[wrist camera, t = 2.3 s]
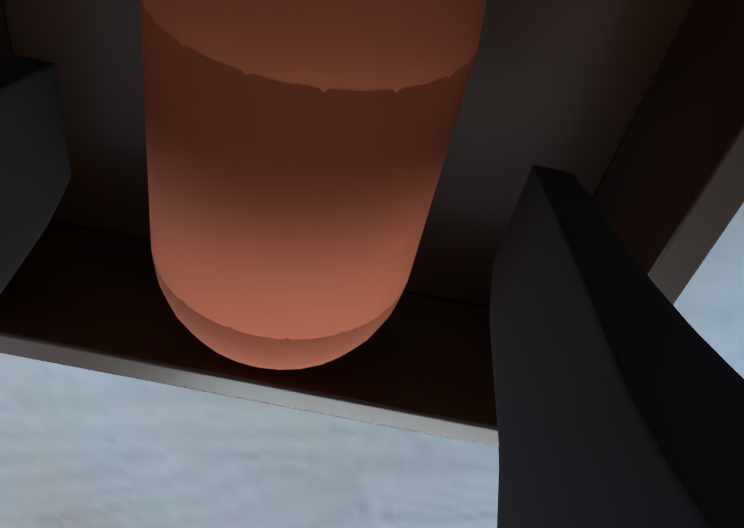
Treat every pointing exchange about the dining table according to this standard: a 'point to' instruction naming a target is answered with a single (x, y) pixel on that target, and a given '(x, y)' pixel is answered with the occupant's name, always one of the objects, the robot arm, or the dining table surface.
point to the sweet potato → (296, 162)
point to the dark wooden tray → (446, 214)
